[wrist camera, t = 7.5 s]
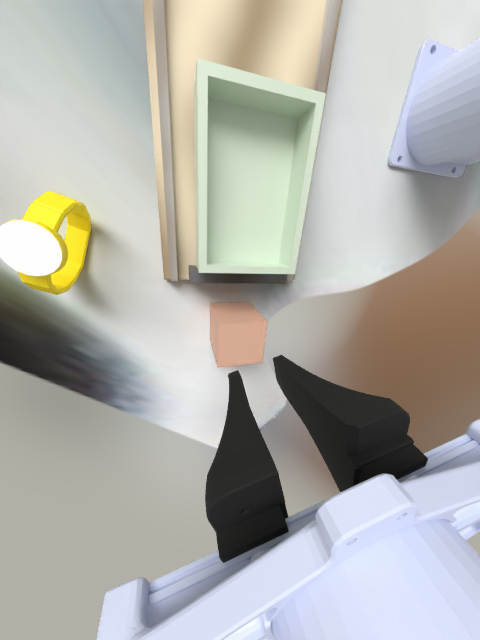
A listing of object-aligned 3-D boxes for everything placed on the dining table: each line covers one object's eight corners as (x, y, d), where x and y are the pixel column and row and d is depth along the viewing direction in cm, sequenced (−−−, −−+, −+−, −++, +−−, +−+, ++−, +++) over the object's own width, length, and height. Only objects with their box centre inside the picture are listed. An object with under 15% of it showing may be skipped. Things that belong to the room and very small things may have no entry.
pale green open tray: (290, 123, 15) (325, 93, 12) (272, 264, 19) (294, 274, 16) (191, 102, 14) (197, 57, 10) (194, 262, 18) (199, 272, 14)
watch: (91, 285, 17) (54, 313, 12) (49, 273, 16) (-11, 298, 11) (106, 210, 16) (71, 204, 10) (61, 192, 15) (-4, 174, 9)
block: (249, 301, 22) (267, 321, 17) (246, 336, 23) (262, 362, 19) (210, 302, 21) (218, 324, 16) (209, 338, 22) (217, 367, 18)
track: (362, -176, 12) (416, -292, 9) (289, 277, 22) (304, 285, 19) (119, -346, 9) (92, -599, 6) (164, 276, 19) (162, 285, 16)
